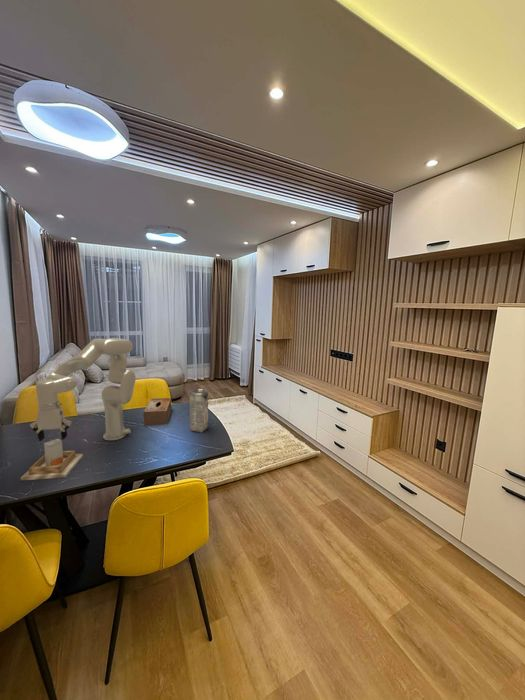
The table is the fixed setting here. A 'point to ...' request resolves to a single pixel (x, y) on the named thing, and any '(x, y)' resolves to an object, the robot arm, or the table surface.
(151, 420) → the tissue box cover
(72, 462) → the socket stand
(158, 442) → the table surface
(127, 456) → the table surface
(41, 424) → the robot arm
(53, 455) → the skincare box
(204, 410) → the grey faceted bottle
